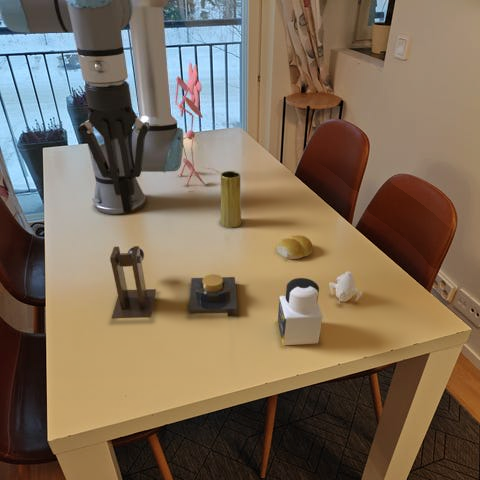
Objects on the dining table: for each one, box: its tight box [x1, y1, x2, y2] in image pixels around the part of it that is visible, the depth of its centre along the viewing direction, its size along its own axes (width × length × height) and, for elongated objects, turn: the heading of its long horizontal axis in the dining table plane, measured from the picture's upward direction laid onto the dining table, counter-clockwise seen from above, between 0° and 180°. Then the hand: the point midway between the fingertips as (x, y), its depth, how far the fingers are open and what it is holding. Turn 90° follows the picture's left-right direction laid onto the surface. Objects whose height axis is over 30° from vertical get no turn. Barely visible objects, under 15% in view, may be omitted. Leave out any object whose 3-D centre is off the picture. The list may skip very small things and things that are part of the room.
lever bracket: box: [109, 245, 156, 319], centre depth 89 cm, size 10×8×14 cm
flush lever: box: [119, 246, 145, 268], centre depth 91 cm, size 13×4×4 cm, turn 3°
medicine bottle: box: [277, 277, 323, 346], centre depth 84 cm, size 7×7×12 cm
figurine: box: [174, 62, 219, 193], centre depth 140 cm, size 15×26×35 cm, turn 19°
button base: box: [188, 276, 238, 317], centre depth 95 cm, size 12×10×4 cm
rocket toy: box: [328, 270, 363, 305], centre depth 94 cm, size 5×5×8 cm
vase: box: [220, 170, 242, 229], centre depth 120 cm, size 6×6×14 cm
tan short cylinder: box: [202, 273, 223, 292], centre depth 93 cm, size 4×4×2 cm
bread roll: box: [276, 234, 314, 260], centre depth 111 cm, size 8×9×4 cm
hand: (128, 209), depth 89 cm, fingers closed
